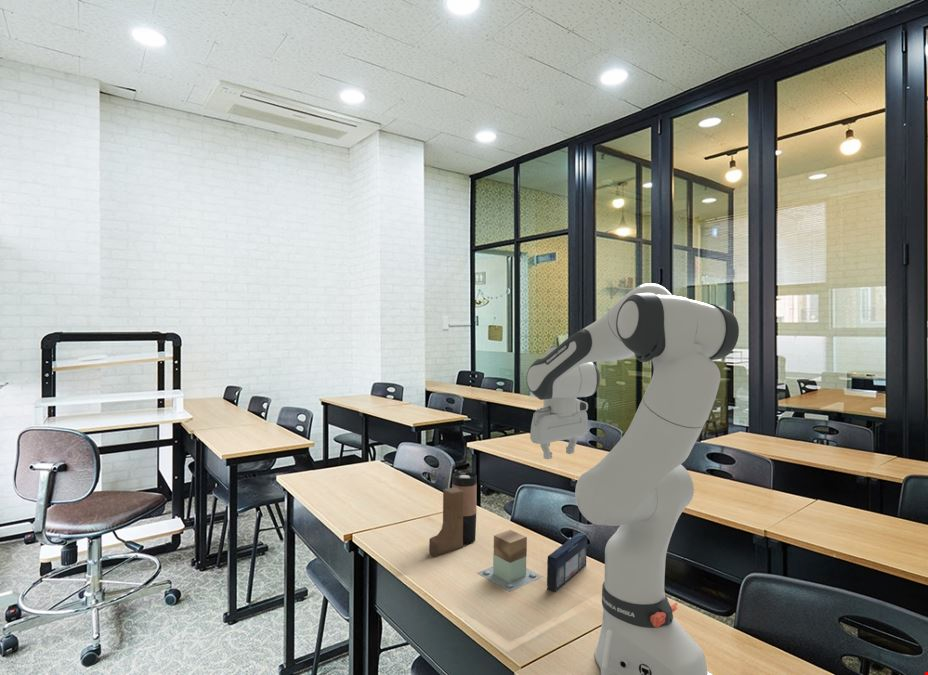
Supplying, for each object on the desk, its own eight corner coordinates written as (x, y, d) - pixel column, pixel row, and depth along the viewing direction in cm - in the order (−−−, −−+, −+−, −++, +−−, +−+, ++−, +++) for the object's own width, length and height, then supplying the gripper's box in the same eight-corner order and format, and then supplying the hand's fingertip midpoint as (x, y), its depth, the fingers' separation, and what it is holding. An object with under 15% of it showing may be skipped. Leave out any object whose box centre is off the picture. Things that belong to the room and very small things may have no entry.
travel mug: (466, 547, 150) (466, 480, 149) (446, 540, 154) (447, 475, 154) (481, 538, 156) (481, 474, 156) (461, 532, 160) (462, 470, 160)
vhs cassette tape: (555, 599, 121) (555, 558, 121) (544, 595, 123) (545, 554, 123) (588, 571, 135) (588, 534, 135) (578, 568, 137) (578, 532, 137)
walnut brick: (526, 556, 129) (526, 536, 129) (510, 562, 125) (510, 543, 125) (510, 548, 134) (510, 529, 134) (493, 554, 130) (493, 535, 130)
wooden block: (436, 559, 141) (437, 495, 141) (428, 553, 145) (429, 491, 145) (463, 552, 146) (463, 490, 146) (454, 546, 150) (455, 486, 150)
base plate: (542, 582, 129) (542, 574, 129) (509, 597, 121) (509, 589, 121) (509, 565, 138) (509, 558, 138) (476, 578, 130) (476, 571, 130)
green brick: (526, 575, 129) (526, 556, 129) (509, 582, 125) (509, 562, 125) (509, 567, 134) (509, 548, 134) (493, 573, 130) (493, 554, 130)
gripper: (543, 410, 127) (542, 464, 127) (591, 403, 140) (591, 452, 140) (525, 407, 132) (524, 459, 132) (573, 400, 145) (572, 448, 145)
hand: (559, 456), depth 136 cm, fingers open, 8 cm apart
